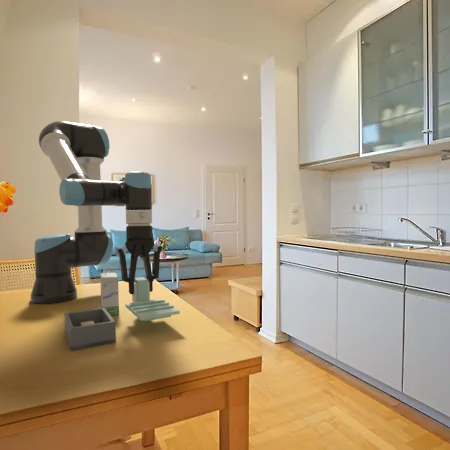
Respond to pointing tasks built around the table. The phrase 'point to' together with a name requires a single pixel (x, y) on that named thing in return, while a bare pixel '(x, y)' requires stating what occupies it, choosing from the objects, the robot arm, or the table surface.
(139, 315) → the lid
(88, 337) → the tub
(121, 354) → the table surface
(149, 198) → the robot arm
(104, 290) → the ink box
